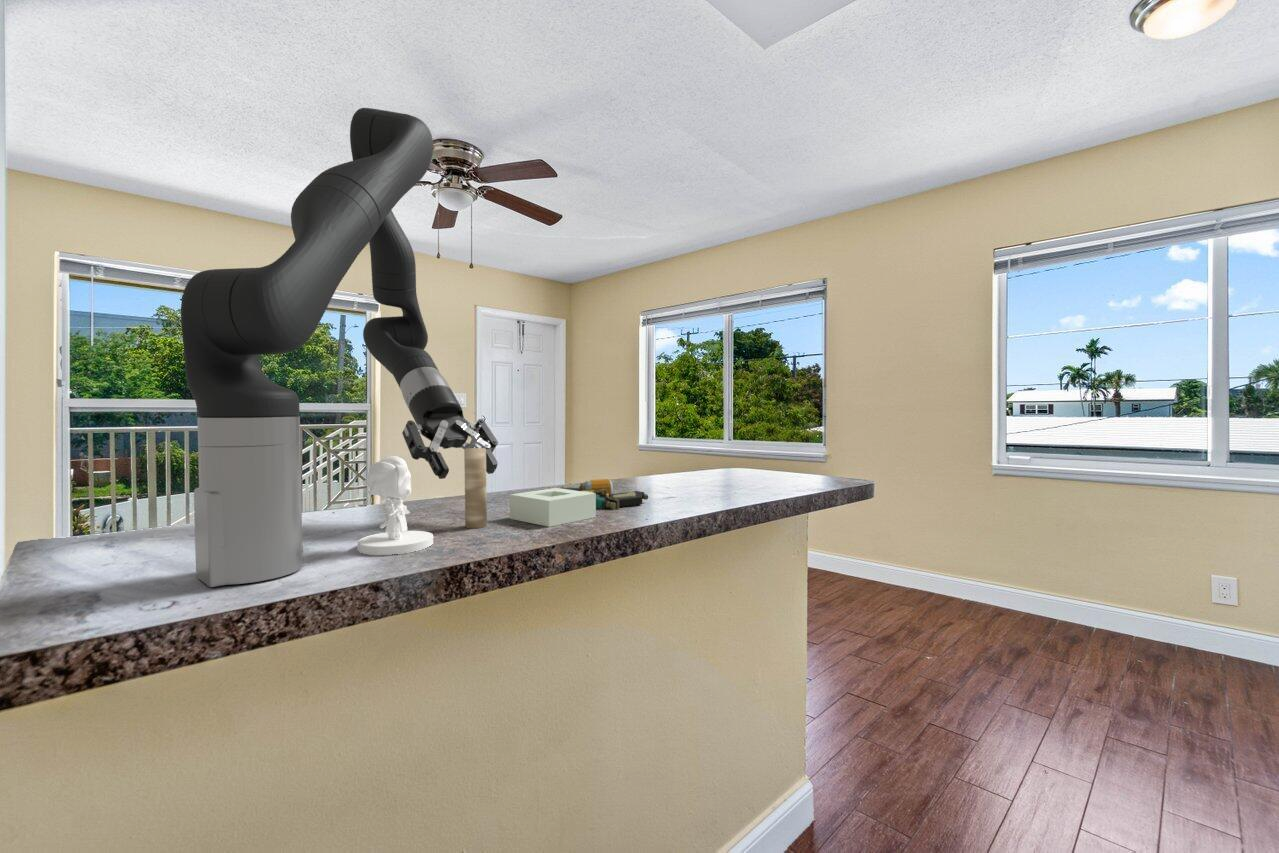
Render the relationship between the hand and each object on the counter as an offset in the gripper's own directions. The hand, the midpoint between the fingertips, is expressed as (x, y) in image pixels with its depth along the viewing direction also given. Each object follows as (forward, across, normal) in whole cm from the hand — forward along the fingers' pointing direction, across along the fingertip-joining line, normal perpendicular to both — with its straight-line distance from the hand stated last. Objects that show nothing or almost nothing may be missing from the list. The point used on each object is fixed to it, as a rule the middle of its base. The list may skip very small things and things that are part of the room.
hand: (470, 472), depth 87 cm
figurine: (+9, -14, +3) cm, 17 cm away
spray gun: (+7, +28, +6) cm, 29 cm away
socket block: (+10, +12, +2) cm, 15 cm away
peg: (+7, 0, +5) cm, 8 cm away
